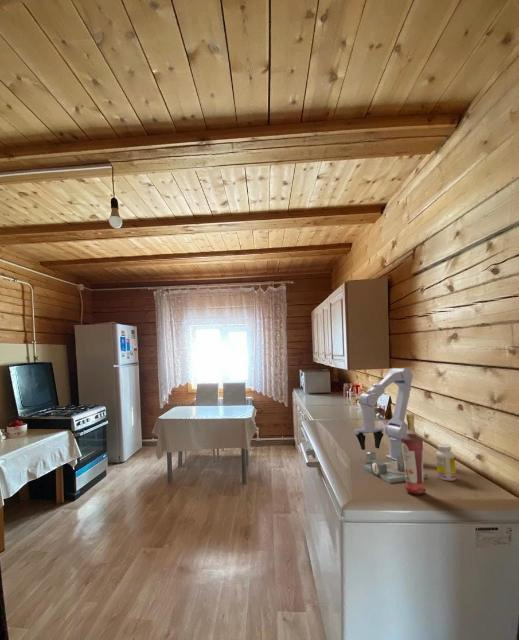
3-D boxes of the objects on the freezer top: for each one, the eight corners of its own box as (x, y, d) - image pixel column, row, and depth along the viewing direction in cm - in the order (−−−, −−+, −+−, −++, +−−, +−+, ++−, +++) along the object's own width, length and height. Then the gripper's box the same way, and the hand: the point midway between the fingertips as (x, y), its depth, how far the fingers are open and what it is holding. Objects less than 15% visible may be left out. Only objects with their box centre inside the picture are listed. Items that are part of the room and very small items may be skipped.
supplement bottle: (454, 476, 138) (451, 444, 140) (458, 482, 132) (455, 448, 133) (436, 474, 140) (434, 443, 142) (439, 480, 134) (436, 447, 136)
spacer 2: (404, 468, 143) (403, 455, 144) (411, 471, 139) (410, 458, 139) (395, 469, 142) (394, 457, 142) (402, 472, 138) (401, 460, 138)
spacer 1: (372, 461, 159) (371, 451, 160) (378, 464, 155) (377, 453, 155) (364, 462, 158) (363, 451, 159) (369, 465, 154) (369, 454, 154)
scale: (398, 464, 155) (397, 452, 155) (427, 477, 137) (426, 464, 138) (363, 468, 150) (362, 456, 150) (388, 483, 132) (387, 469, 133)
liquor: (431, 495, 120) (425, 415, 123) (413, 497, 119) (407, 417, 122) (417, 487, 127) (412, 412, 130) (400, 489, 126) (395, 413, 129)
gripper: (376, 416, 164) (378, 445, 163) (350, 418, 161) (352, 447, 159) (385, 419, 158) (387, 449, 156) (358, 421, 154) (360, 451, 152)
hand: (370, 448), depth 157 cm, fingers open, 7 cm apart
